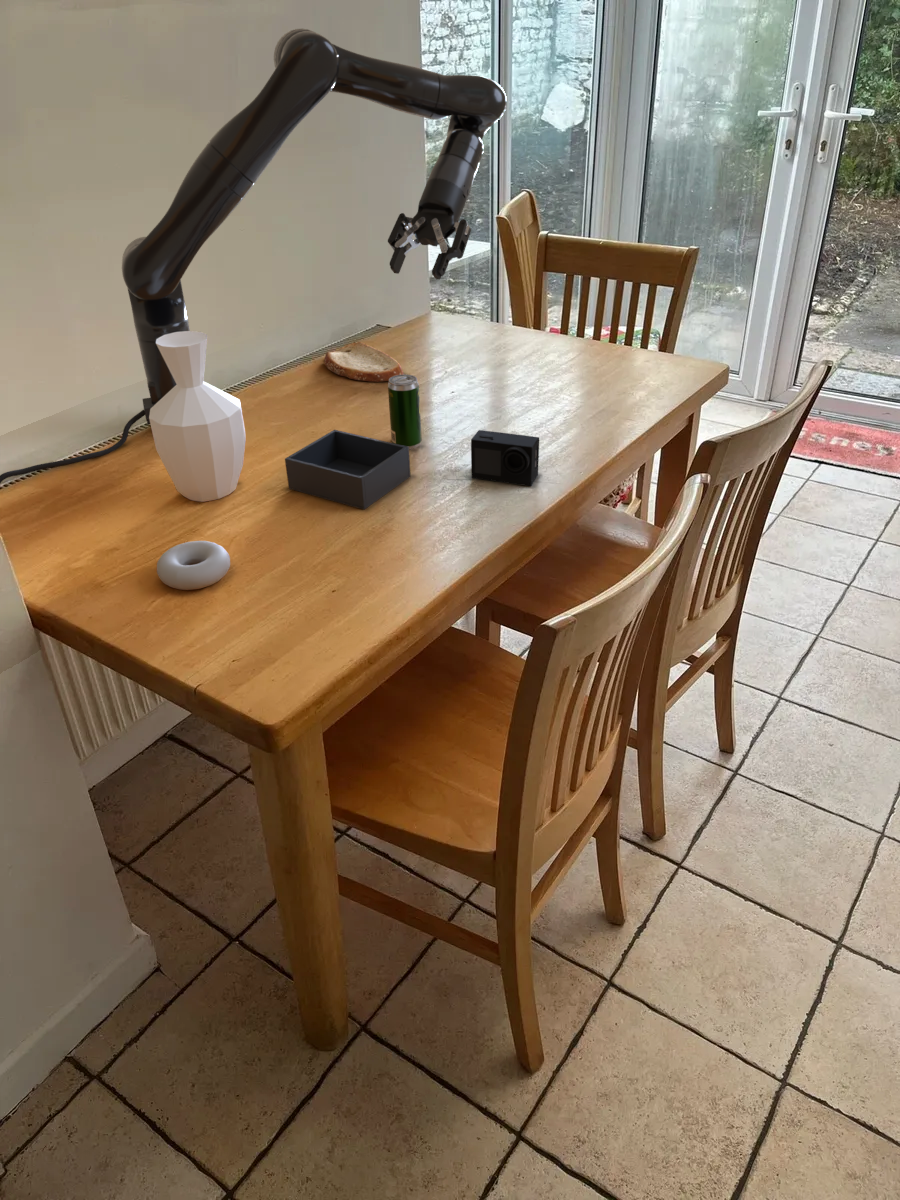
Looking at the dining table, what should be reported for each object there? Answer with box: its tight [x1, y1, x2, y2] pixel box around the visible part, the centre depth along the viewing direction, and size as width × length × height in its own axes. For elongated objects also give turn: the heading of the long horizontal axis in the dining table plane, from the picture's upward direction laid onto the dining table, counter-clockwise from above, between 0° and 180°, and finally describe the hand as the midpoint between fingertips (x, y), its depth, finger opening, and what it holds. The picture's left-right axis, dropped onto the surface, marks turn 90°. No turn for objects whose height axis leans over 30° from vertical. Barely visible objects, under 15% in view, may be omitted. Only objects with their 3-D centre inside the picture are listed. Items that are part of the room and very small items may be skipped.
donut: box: [156, 540, 231, 591], centre depth 124 cm, size 10×4×10 cm
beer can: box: [387, 373, 423, 451], centre depth 156 cm, size 5×5×12 cm
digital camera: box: [470, 429, 540, 487], centre depth 145 cm, size 10×5×7 cm, turn 70°
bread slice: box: [323, 341, 405, 383], centre depth 192 cm, size 18×18×4 cm
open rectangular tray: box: [284, 429, 411, 510], centre depth 146 cm, size 13×15×5 cm
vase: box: [149, 330, 247, 503], centre depth 140 cm, size 14×14×25 cm
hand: (414, 273), depth 154 cm, fingers open, 8 cm apart
